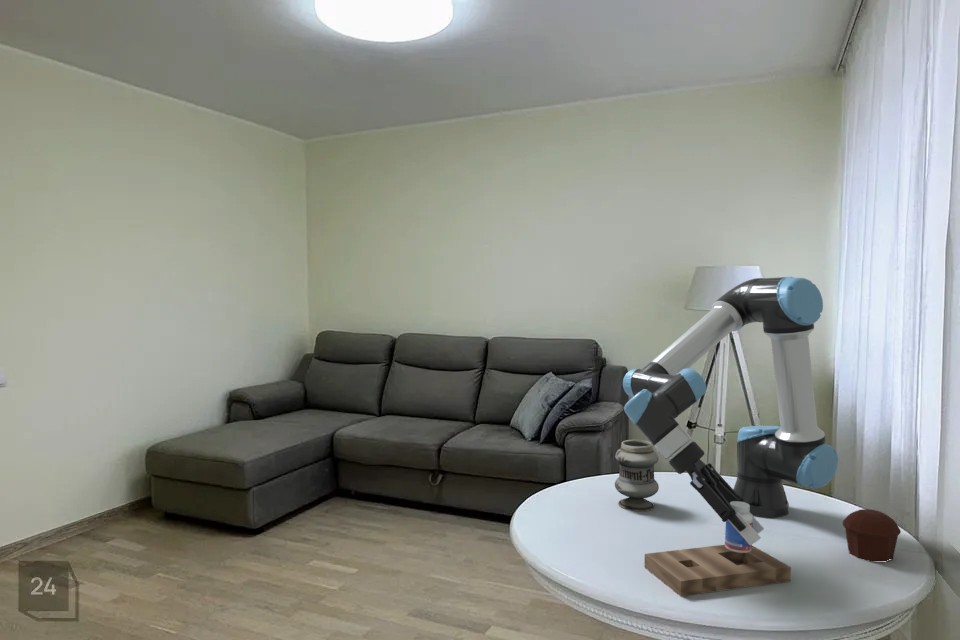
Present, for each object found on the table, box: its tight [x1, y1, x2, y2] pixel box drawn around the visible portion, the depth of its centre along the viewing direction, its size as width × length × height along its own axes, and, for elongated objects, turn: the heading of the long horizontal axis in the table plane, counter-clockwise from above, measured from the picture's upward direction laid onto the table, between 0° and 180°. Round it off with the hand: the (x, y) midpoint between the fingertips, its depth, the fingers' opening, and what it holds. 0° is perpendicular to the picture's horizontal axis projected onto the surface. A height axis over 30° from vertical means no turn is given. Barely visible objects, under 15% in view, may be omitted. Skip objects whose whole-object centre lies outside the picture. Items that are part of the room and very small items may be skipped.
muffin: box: [842, 508, 902, 562], centre depth 149 cm, size 12×11×10 cm
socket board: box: [644, 544, 792, 597], centre depth 138 cm, size 26×14×3 cm, turn 105°
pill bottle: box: [724, 501, 753, 553], centre depth 139 cm, size 6×5×10 cm
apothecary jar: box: [614, 439, 660, 512], centre depth 183 cm, size 12×12×18 cm
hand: (757, 536), depth 137 cm, fingers closed on pill bottle, 5 cm apart
